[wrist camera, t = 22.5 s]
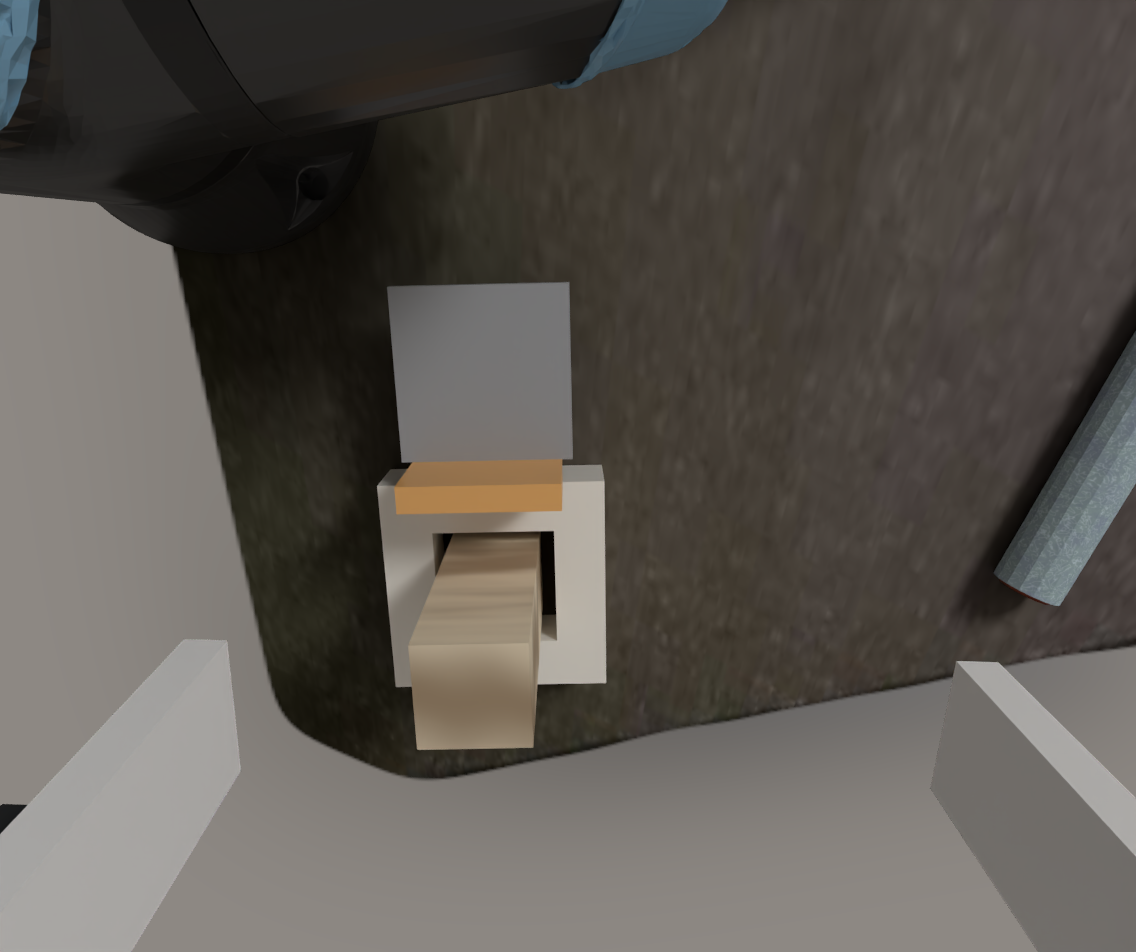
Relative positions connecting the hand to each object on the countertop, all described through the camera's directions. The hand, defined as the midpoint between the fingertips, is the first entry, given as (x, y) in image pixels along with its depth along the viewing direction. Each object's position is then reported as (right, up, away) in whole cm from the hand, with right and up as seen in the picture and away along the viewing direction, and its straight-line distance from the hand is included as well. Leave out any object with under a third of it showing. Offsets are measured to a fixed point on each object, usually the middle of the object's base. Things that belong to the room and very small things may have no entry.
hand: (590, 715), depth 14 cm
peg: (-4, 0, +28) cm, 28 cm away
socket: (-4, 0, +28) cm, 28 cm away
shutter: (-4, +9, +22) cm, 24 cm away
